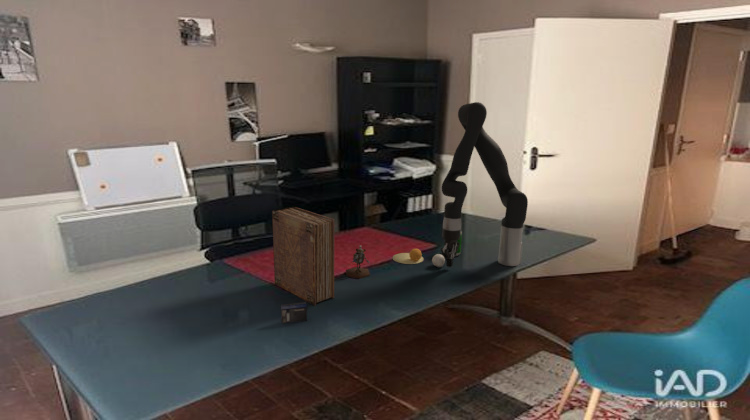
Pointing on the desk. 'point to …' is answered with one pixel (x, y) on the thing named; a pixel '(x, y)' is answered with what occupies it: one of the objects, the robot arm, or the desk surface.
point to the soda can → (459, 245)
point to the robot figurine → (359, 259)
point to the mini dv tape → (293, 312)
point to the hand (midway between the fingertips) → (449, 266)
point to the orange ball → (415, 254)
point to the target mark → (405, 259)
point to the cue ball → (438, 260)
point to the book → (304, 253)
